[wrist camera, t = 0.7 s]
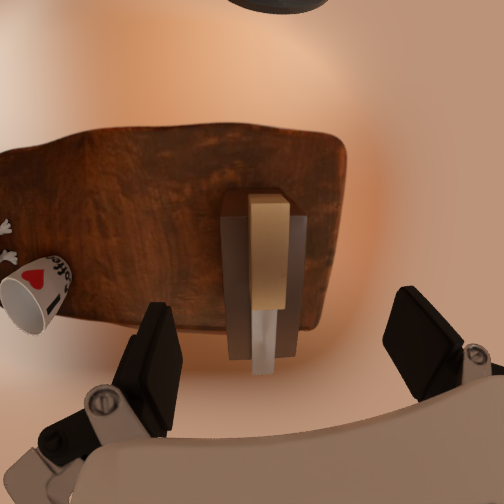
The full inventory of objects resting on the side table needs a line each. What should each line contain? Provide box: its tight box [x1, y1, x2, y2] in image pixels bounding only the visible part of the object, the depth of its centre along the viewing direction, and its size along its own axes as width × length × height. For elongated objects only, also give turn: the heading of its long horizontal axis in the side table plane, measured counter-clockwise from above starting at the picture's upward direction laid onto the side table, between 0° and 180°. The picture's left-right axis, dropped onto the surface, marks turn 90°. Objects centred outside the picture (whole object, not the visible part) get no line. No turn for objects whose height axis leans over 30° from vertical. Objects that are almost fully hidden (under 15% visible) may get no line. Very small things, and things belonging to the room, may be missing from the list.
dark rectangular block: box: [220, 188, 308, 360], centre depth 26 cm, size 13×6×12 cm, turn 1°
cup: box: [0, 256, 72, 336], centre depth 27 cm, size 8×8×10 cm
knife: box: [248, 194, 290, 375], centre depth 19 cm, size 16×2×3 cm, turn 0°
